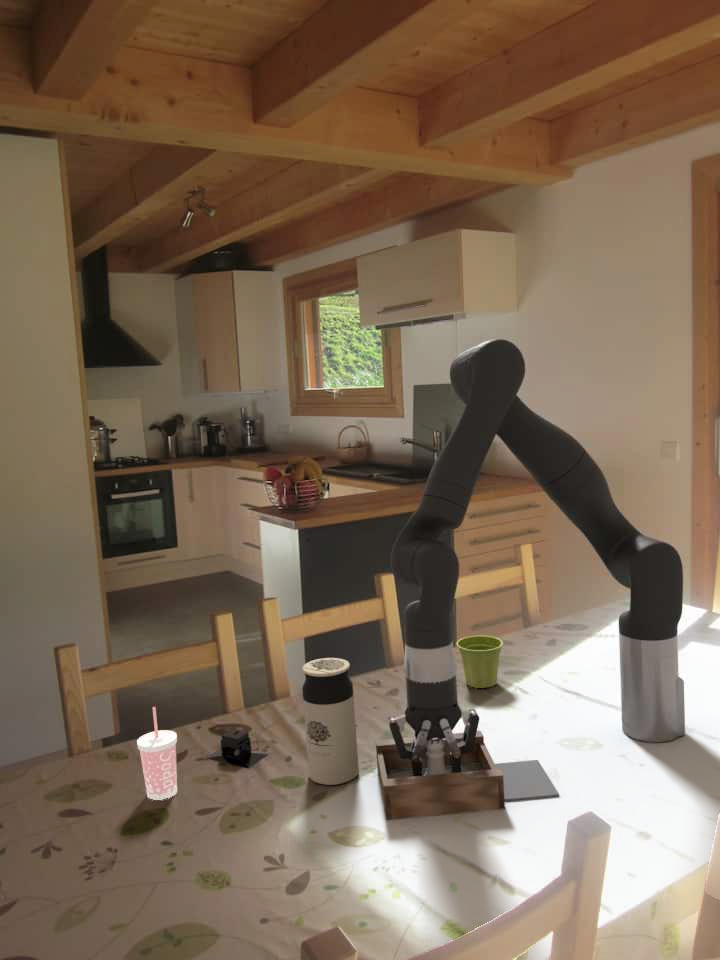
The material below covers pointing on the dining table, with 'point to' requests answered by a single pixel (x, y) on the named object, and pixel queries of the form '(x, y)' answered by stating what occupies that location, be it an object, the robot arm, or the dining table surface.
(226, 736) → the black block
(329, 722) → the travel mug
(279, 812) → the dining table surface
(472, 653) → the plant pot
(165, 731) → the beverage cup
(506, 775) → the charcoal mat
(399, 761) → the brown wooden box
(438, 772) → the rook chess piece
